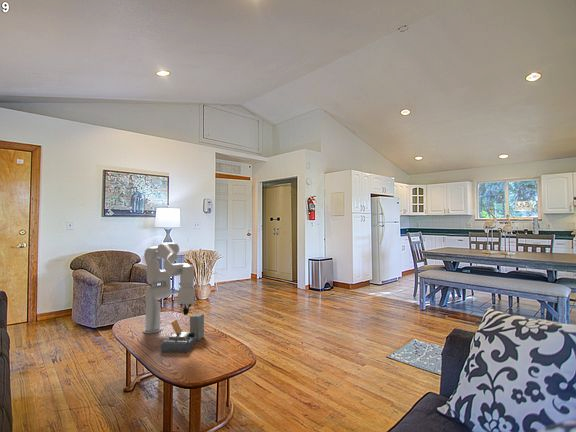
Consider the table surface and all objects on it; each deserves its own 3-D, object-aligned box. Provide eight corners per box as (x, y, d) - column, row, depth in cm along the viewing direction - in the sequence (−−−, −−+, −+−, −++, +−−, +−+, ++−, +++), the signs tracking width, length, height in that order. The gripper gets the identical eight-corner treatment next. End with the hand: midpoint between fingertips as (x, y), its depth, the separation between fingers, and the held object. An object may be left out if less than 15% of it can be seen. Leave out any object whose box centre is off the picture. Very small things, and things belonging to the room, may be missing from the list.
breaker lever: (179, 332, 191) (174, 320, 191) (182, 331, 191) (176, 319, 191) (176, 335, 186) (170, 323, 186) (178, 334, 186) (173, 322, 186)
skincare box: (198, 341, 198) (199, 317, 199) (188, 340, 200) (189, 316, 200) (204, 336, 206) (205, 313, 207) (194, 335, 208) (195, 312, 208)
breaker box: (171, 341, 196) (172, 329, 197) (196, 342, 196) (196, 329, 196) (160, 352, 180) (161, 338, 181) (187, 352, 180) (187, 339, 180)
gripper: (173, 285, 186) (171, 315, 186) (197, 287, 185) (195, 316, 185) (177, 283, 193) (176, 311, 193) (200, 284, 193) (199, 313, 193)
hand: (185, 314), depth 189 cm, fingers closed
